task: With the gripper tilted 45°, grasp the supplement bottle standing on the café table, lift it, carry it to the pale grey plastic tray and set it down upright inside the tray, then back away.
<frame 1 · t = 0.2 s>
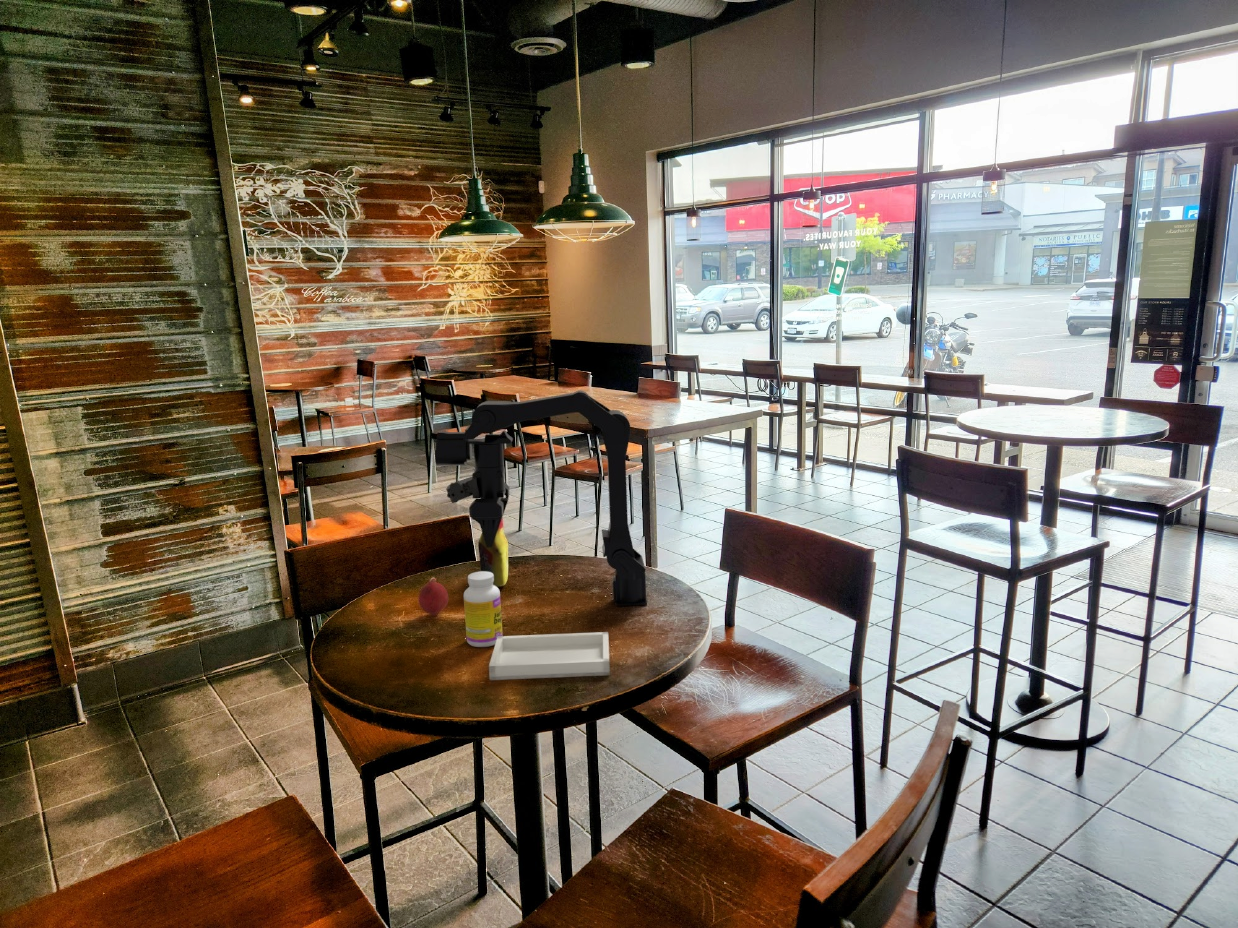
hand: (491, 540, 160), 14 cm above the table, tool pointing down, fingers open, 9 cm apart
onion: (435, 616, 159), on the table
tray: (551, 661, 137), on the table
supplement bottle: (485, 641, 146), on the table
bottle: (496, 582, 178), on the table
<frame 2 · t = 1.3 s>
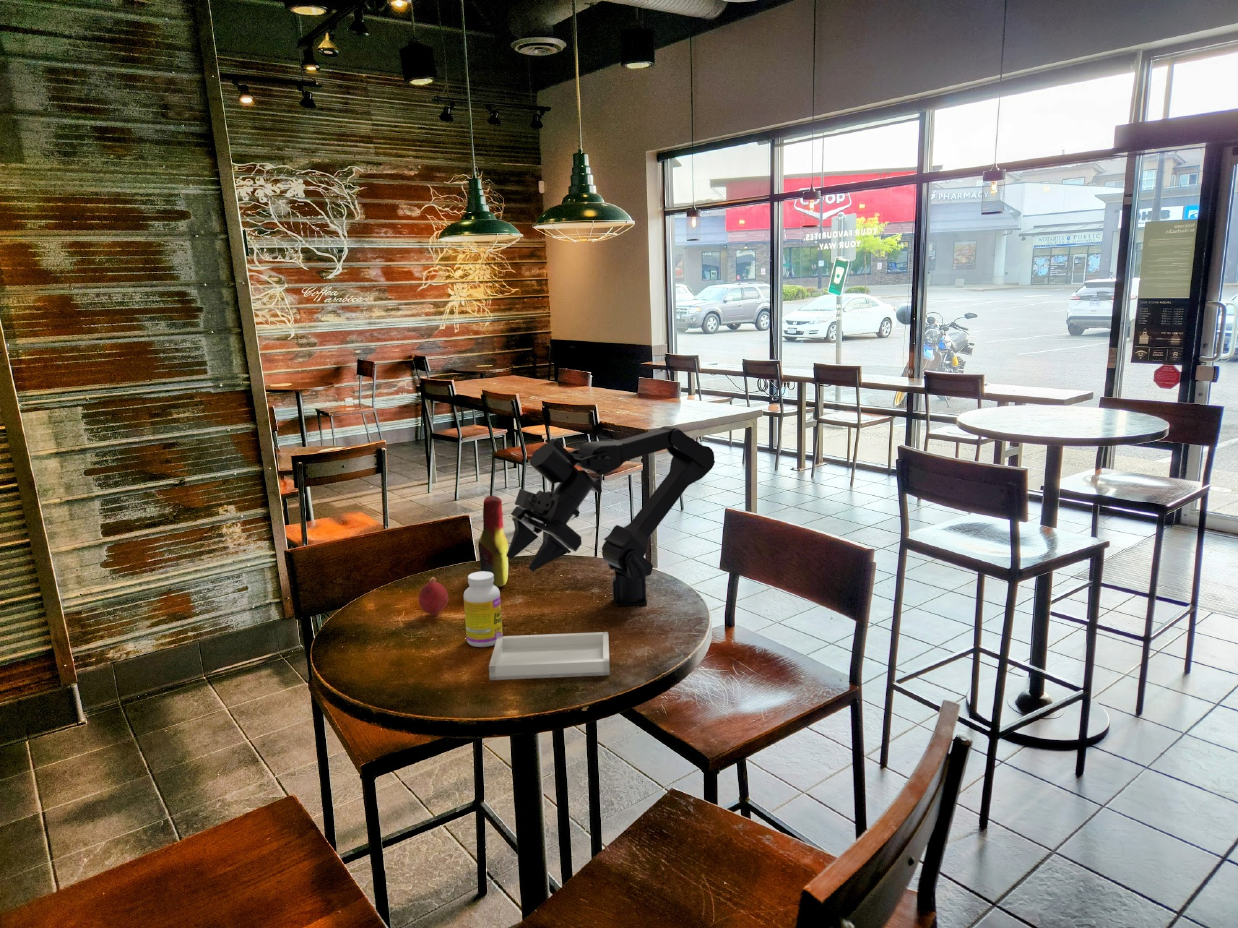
hand: (519, 563, 148), 13 cm above the table, tool tilted 45°, fingers open, 9 cm apart
nothing on the table moved.
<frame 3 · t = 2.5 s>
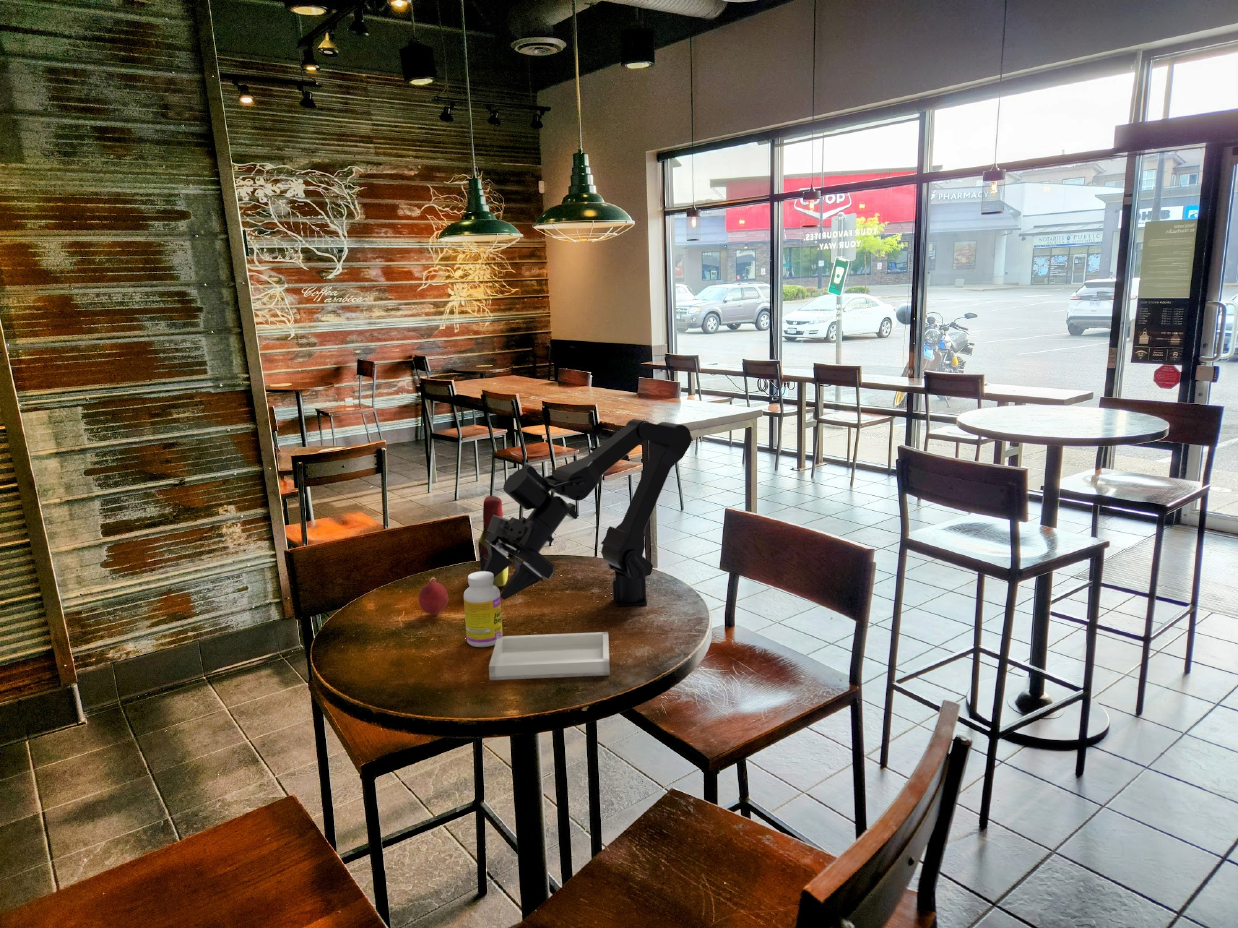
hand: (491, 591, 145), 9 cm above the table, tool tilted 45°, fingers open, 9 cm apart
nothing on the table moved.
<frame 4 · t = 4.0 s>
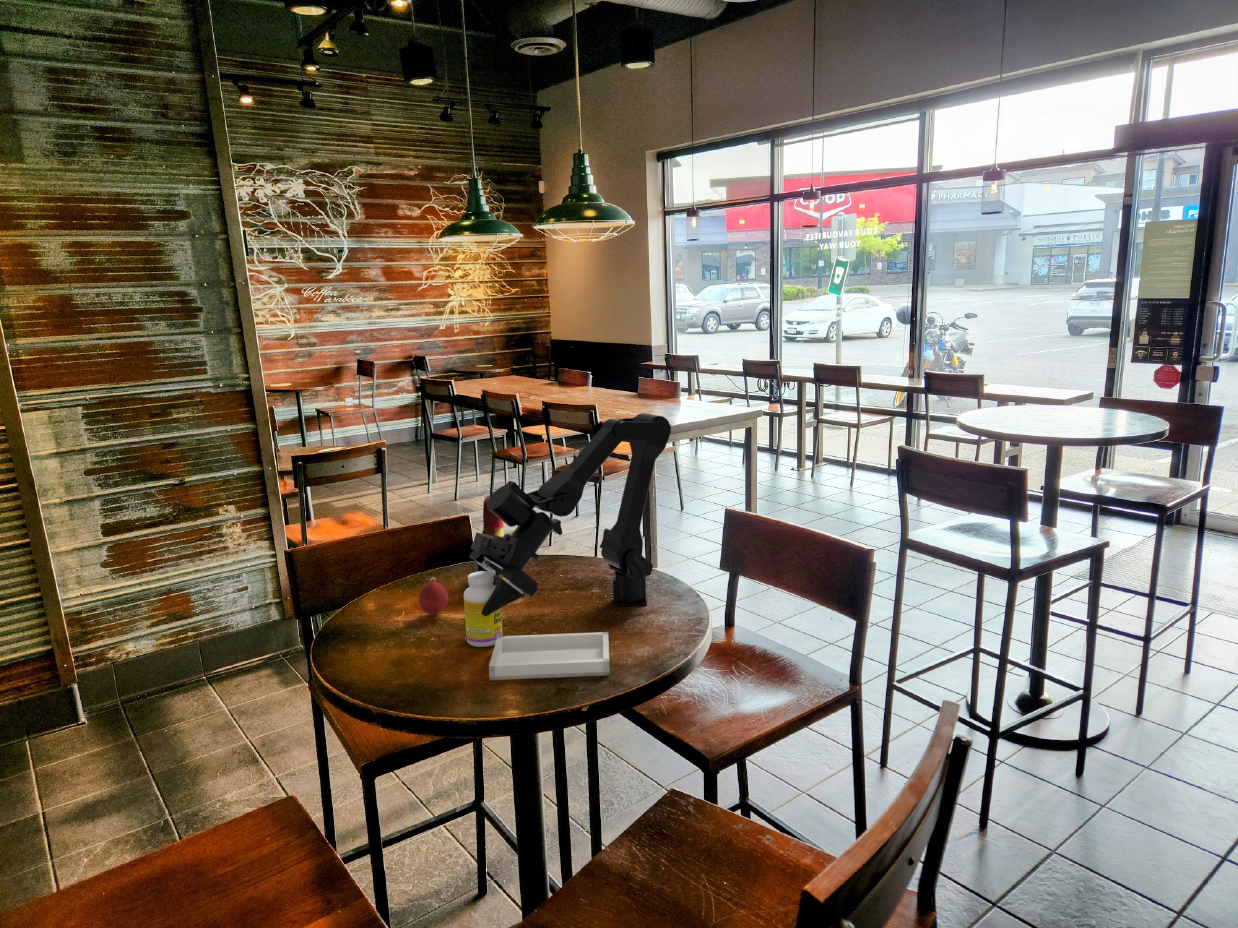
hand: (475, 609, 144), 7 cm above the table, tool tilted 45°, fingers closed on supplement bottle, 7 cm apart
supplement bottle: (485, 641, 146), on the table, touching gripper
everything else where it was.
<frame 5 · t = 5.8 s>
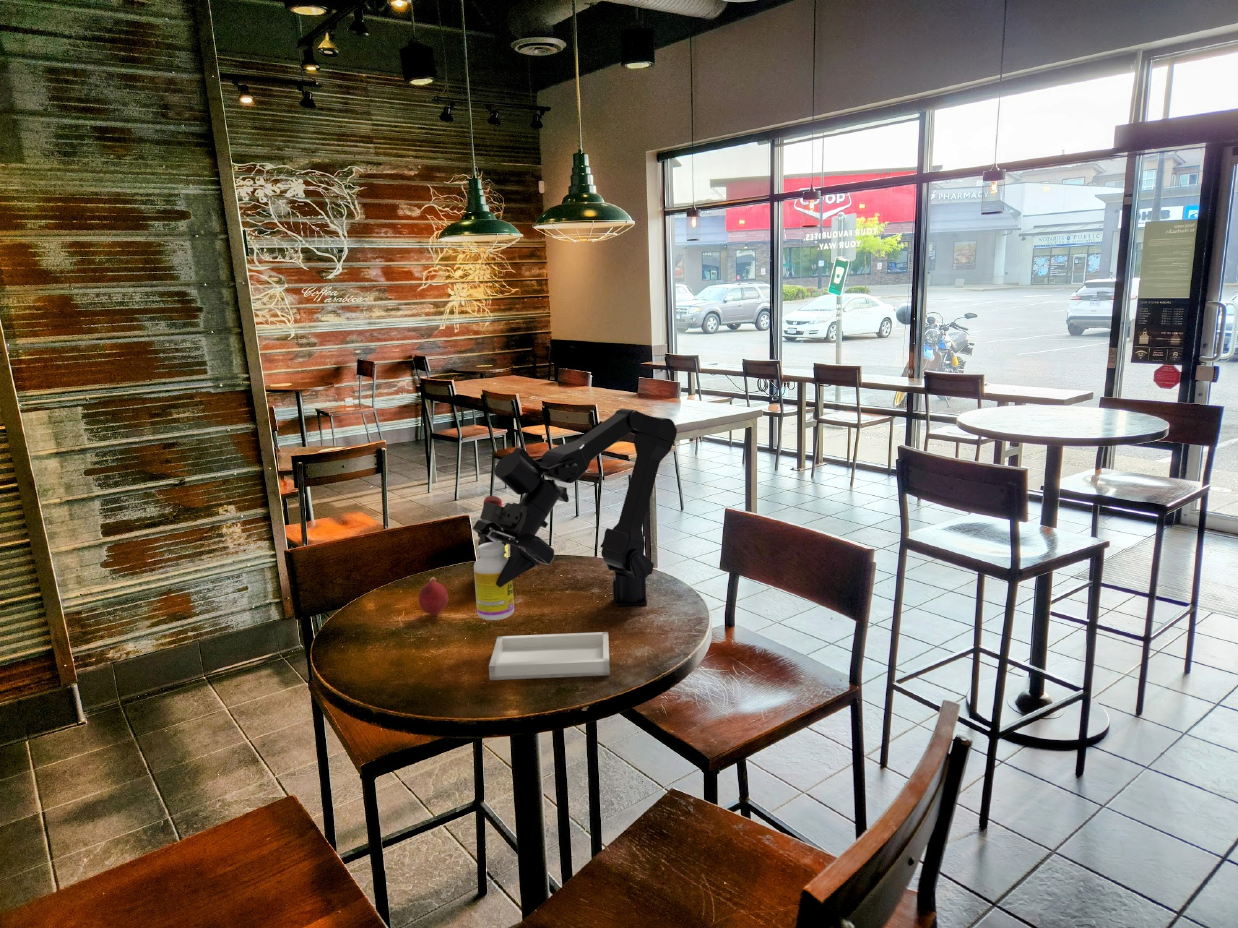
hand: (487, 581, 139), 13 cm above the table, tool tilted 45°, fingers closed on supplement bottle, 7 cm apart
supplement bottle: (496, 615, 141), point 6 cm above the table, touching gripper
everything else where it was.
when the fingers open (8 cm above the table, at t = 8.2 s): supplement bottle stays where it is, resting on tray.
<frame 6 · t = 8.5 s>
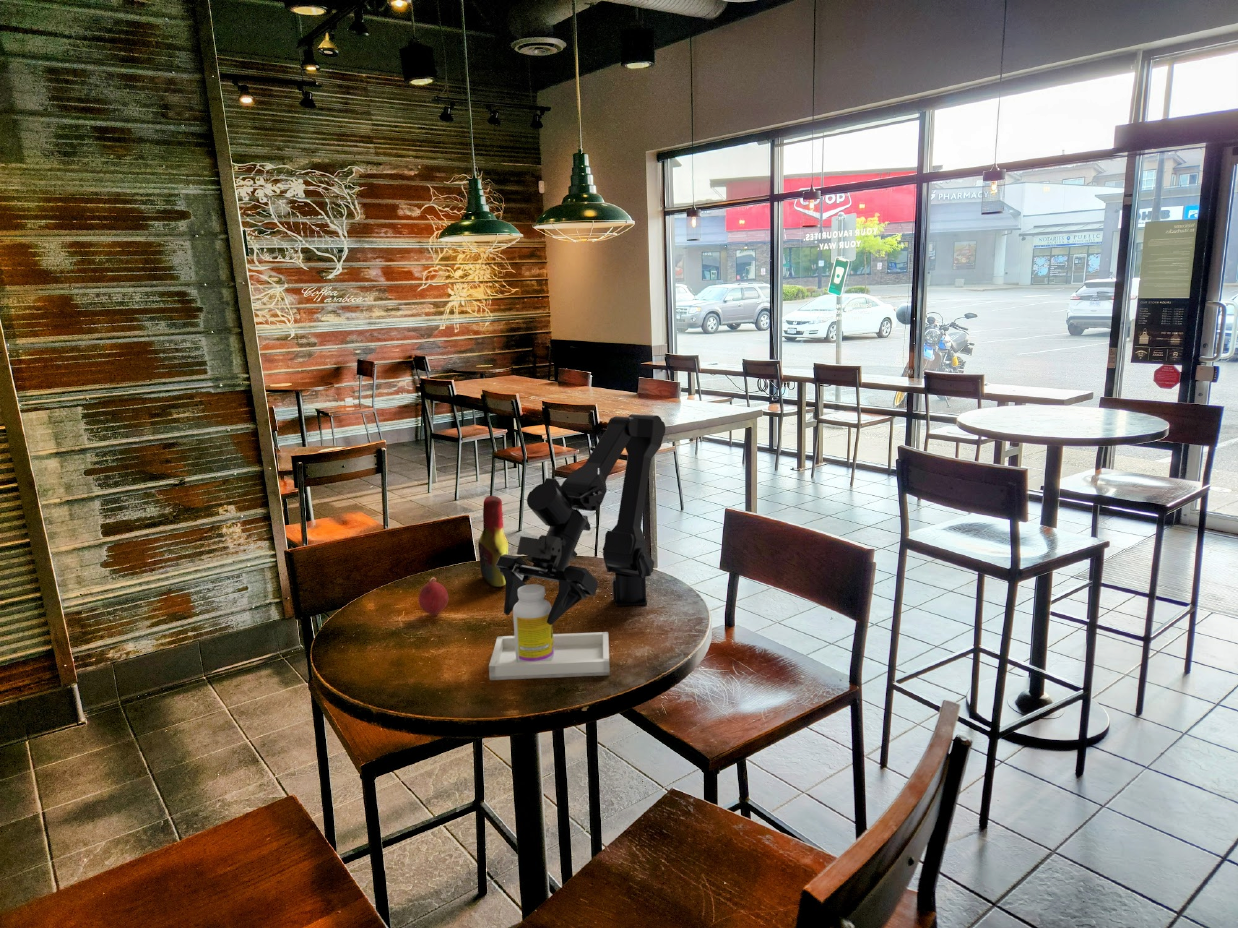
hand: (527, 618, 134), 9 cm above the table, tool tilted 45°, fingers open, 9 cm apart
supplement bottle: (535, 659, 137), resting on tray
everything else where it was.
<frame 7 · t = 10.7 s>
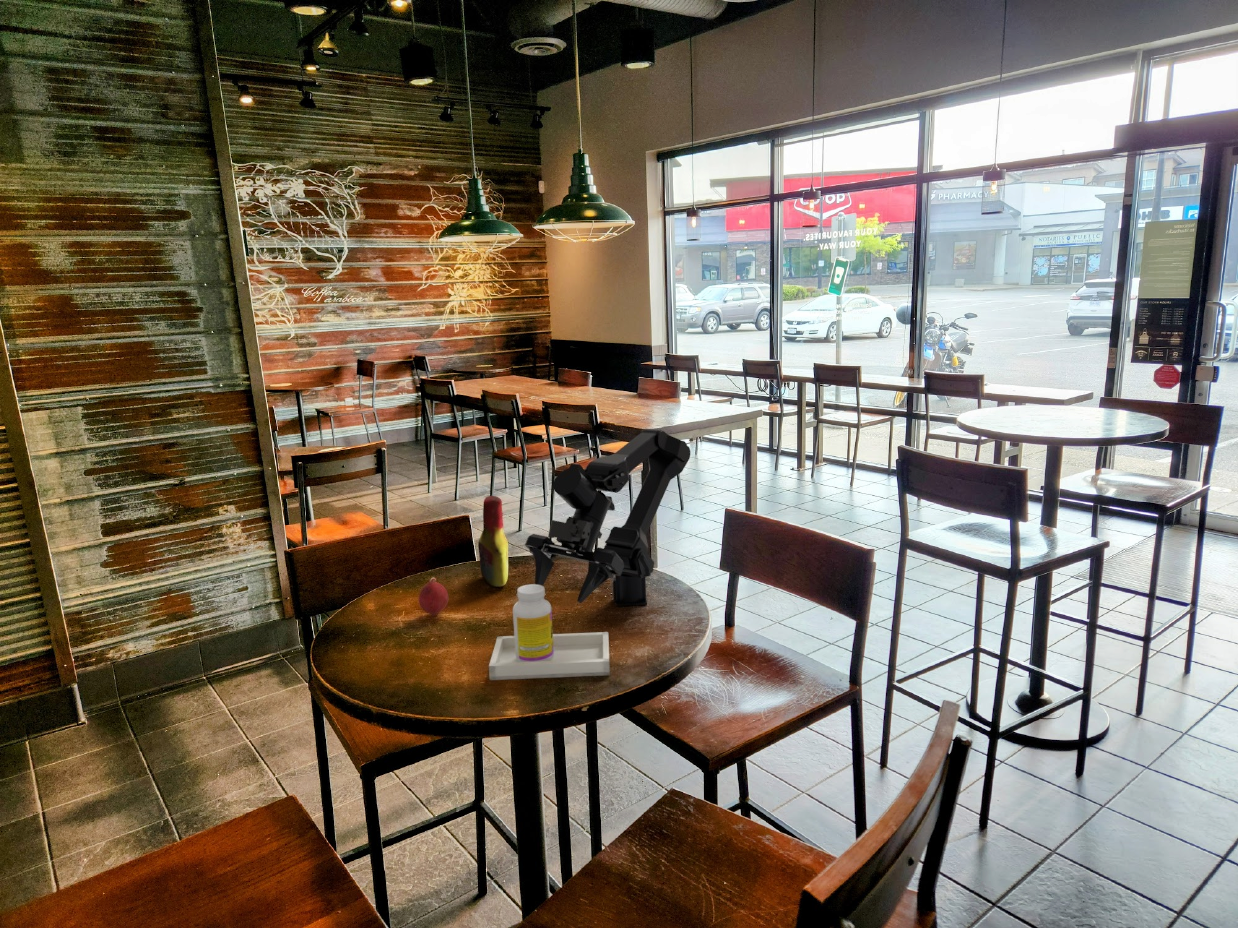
hand: (557, 596, 142), 9 cm above the table, tool tilted 40°, fingers open, 9 cm apart
nothing on the table moved.
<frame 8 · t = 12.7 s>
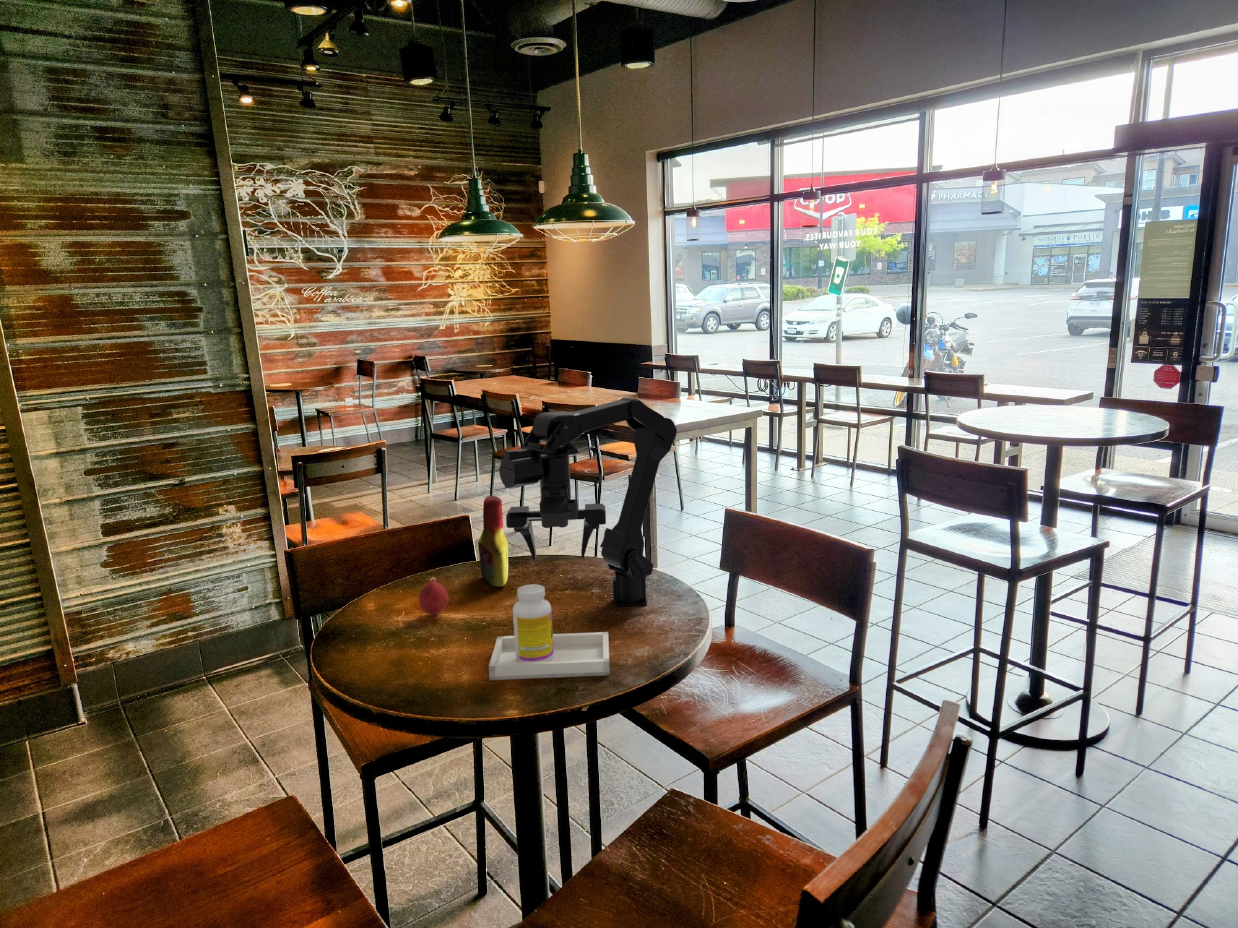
hand: (558, 558, 151), 13 cm above the table, tool pointing down, fingers open, 9 cm apart
nothing on the table moved.
at the end: supplement bottle inside the target area on the tray (2.7 cm from its centre), point 0.4 cm above the tray's base; supplement bottle tilted 0°; the gripper is holding nothing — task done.
